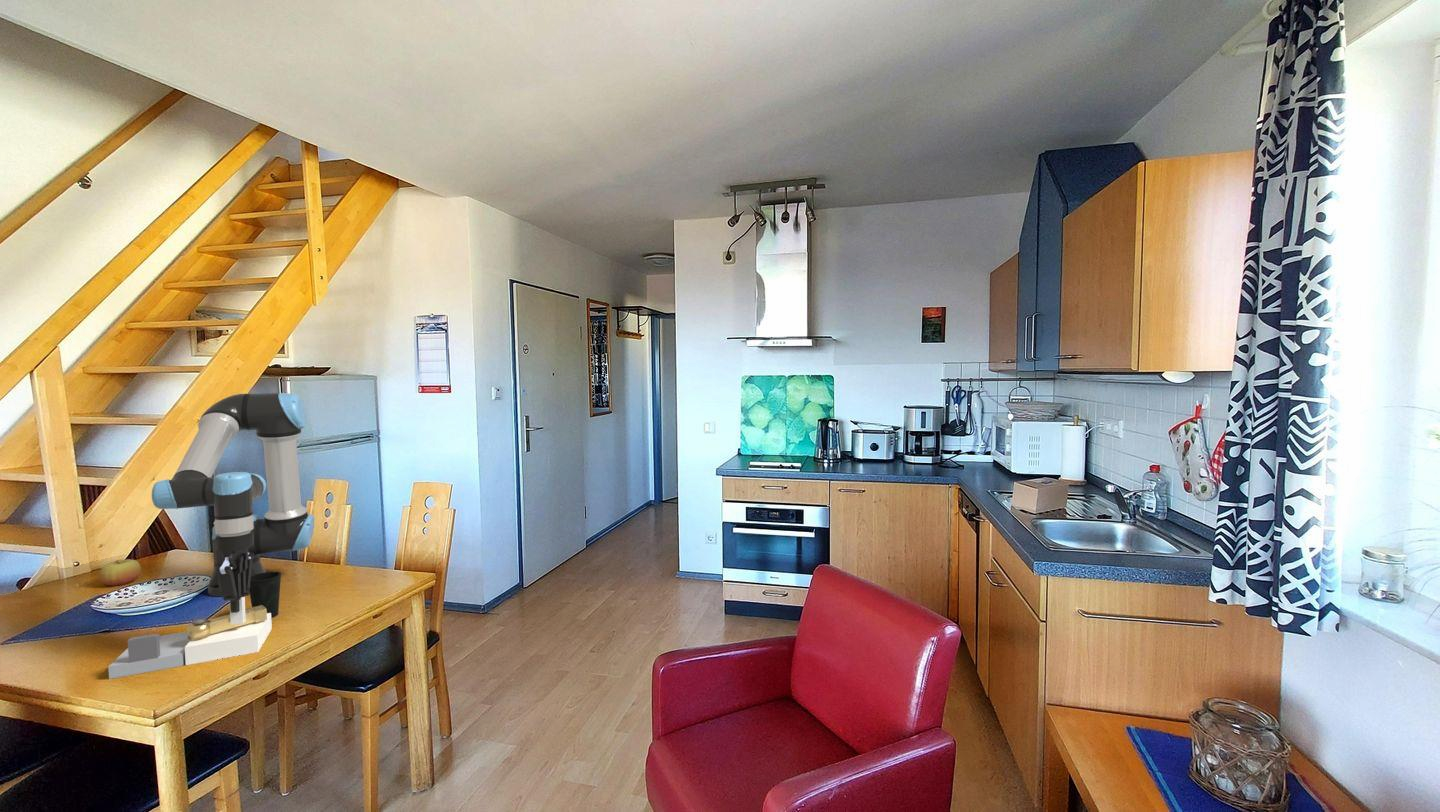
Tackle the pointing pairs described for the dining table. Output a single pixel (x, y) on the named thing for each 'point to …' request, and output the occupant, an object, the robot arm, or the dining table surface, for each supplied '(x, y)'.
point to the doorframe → (188, 648)
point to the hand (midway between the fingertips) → (238, 622)
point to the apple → (120, 572)
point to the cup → (266, 591)
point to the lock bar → (225, 623)
